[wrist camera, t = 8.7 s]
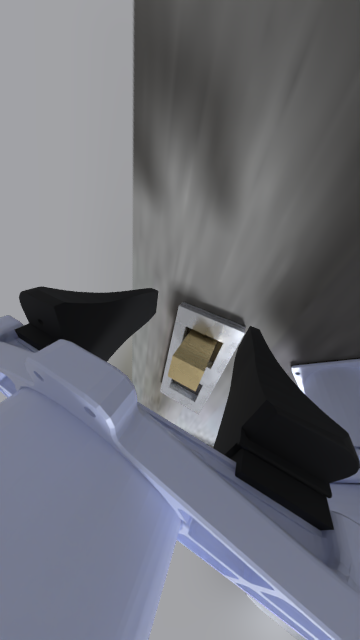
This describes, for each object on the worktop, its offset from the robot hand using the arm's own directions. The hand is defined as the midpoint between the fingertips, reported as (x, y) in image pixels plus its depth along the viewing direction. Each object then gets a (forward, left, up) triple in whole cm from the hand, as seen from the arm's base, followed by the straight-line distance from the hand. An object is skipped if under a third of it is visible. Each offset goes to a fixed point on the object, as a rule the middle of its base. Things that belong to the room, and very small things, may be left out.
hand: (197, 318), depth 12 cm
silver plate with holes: (-11, +11, -9) cm, 18 cm away
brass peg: (-7, +7, -9) cm, 13 cm away
